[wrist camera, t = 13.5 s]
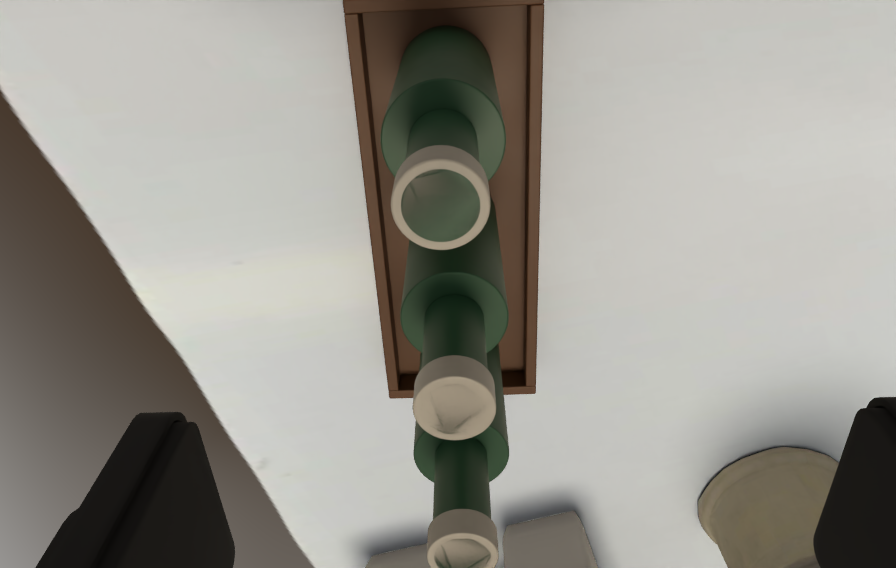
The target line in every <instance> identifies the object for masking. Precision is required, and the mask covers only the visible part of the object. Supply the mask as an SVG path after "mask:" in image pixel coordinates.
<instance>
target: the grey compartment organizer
mask: <svg viewBox="0 0 896 568" xmlns="http://www.w3.org/2000/svg"><path fill="white" fill-rule="evenodd" d="M503 553H504V566H505V568H598V567H597V564H596V561H595V558H594V555H593V553H592V550H591V547H590V544H589V541H588V538H587V536H586V533H585V530H584V527H583V525H582V523H581V521H580V519H579V518H578V516H577V514H576V513H575V511H570V512H565V513H561V514H556V515H552V516H547V517H543V518H538V519H534V520H529V521H525V522H520V523H516V524H511V525H507V528H506V531H505V533H504V536H503ZM365 568H431V566H430V565H429V563H428V560H427V543H426V544H422V545H418V546H413V547H409V548H404V549H400V550H395V551H391V552H386V553H382V554H377V555H373V556H372V557H371V559H370V560H369V562H368V564H367V565H366V567H365Z"/></svg>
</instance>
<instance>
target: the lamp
mask: <svg viewBox="0 0 896 568" xmlns="http://www.w3.org/2000/svg"><path fill="white" fill-rule="evenodd" d="M838 464H839V463H838V462H837V461H835V460H834V459H832V458H831V457H830V456H828V455H824V454H821V453H818V452H814V451H811V450H808V449H800V448H790V447H779V448H773V449H769V450H766V451H763V452H760V453H757V454H754V455H751V456H748V457H746V458H743V459H741V460H739V461H737V462H735V463H733V464H732V465H730V466H728V467H726V468H724V469H723V470H722V471H721V472H720V473H719V474H718V475H717V476H716V477H715V478H714V479H713V480H712V481H711V482H710V484H709V485H708V487H707V488H706V489H705V491H704V492H703V494H702V496H701V498H700V499H699V501H698V510H699V520H700V523H701V526H702V527H703V529H704V530H705V532H706V533H707V534H708V536H709V537H710V538H711V539H712V540H713V541H714V542H715V543H716V544H717V545H718V547H719V549H720V551H721V553H722V556H723V558H724V560H725V562H726V564H727V567H728V568H820V566H819V564H818V561H817V559H816V556H815V552H814V546H813V538H814V533H815V531H816V528H817V525H818V522H819V519H820V516H821V513H822V510H823V508H824V505H825V502H826V499H827V496H828V493H829V490H830V487H831V485H832V482H833V479H834V476H835V473H836V470H837V467H838Z"/></svg>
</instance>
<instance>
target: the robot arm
mask: <svg viewBox="0 0 896 568" xmlns="http://www.w3.org/2000/svg"><path fill="white" fill-rule="evenodd" d="M813 546H814V552H815V556H816V559H817V561H818V564H819V566H820V568H896V397H879V398H874V399H873V400H871V401H870V402H869V404H868V406H867V408H863V409H860V410H859V411H858V412H857V414H856V416H855V418H854V421H853V424H852V427H851V430H850V433H849V436H848V438H847V441H846V444H845V447H844V450H843V453H842V456H841V459H840V461H839V464H838V467H837V470H836V473H835V476H834V479H833V482H832V485H831V487H830V490H829V493H828V496H827V499H826V502H825V505H824V508H823V510H822V513H821V516H820V519H819V522H818V525H817V528H816V531H815V533H814V538H813ZM234 557H235V547H234V541H233V538H232V535H231V532H230V529H229V525H228V522H227V519H226V516H225V512H224V510H223V506H222V503H221V500H220V496H219V493H218V490H217V487H216V483H215V480H214V477H213V474H212V470H211V467H210V464H209V461H208V458H207V454H206V451H205V448H204V445H203V442H202V438H201V435H200V432H199V429H198V426H197V424H195V423H194V422H187V421H186V418H185V416H184V415H183V414H182V413H180V412H164V413H163V412H160V413H140V414H138V415H136V417H135V418H134V419H133V420H132V422H131V423H130V425H129V427H128V428H127V430H126V432H125V433H124V435H123V436H122V438H121V440H120V441H119V443H118V445H117V446H116V448H115V450H114V451H113V453H112V454H111V456H110V458H109V459H108V461H107V463H106V464H105V466H104V468H103V469H102V471H101V473H100V474H99V476H98V478H97V479H96V481H95V482H94V484H93V486H92V487H91V489H90V491H89V492H88V494H87V496H86V497H85V499H84V501H83V502H82V504H81V506H80V507H79V508H78V509H77V510H76V511H74V512H72V513H71V514H70V515H69V516H68V518H67V519H66V520H65V521H64V523H63V524H62V526H61V527H60V529H59V530H58V532H57V534H56V535H55V537H54V538H53V540H52V542H51V543H50V545H49V547H48V548H47V550H46V551H45V553H44V555H43V556H42V558H41V560H40V561H39V563H38V564H37V566H36V568H233V565H234Z"/></svg>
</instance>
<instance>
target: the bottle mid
mask: <svg viewBox="0 0 896 568" xmlns="http://www.w3.org/2000/svg"><path fill="white" fill-rule="evenodd" d="M490 205H491V206H490V213H489V217H488V220H487V222H486V224H485V226H484V228H483V229H482V230H481V232H480V233H479V234H478V235H477V236H476V237H475V238H474V239H472V240H471V241H470V242H468V243H466V244H464V245H462V246H460V247H457V248H453V249H448V250H434V249H429V248H425V247H422V246H420V245H418V244H416V243H414V242H412V241H411V240H410V239H409V247H408V255H407V263H406V271H405V279H404V287H403V295H402V303H401V311H400V321H401V326H402V330H403V332H404V334H405V336H406V338H407V339H408V341H409V342H410V343H411V344H412V345H413V346H414V347H415V348H416V349H417V350H418V351H420V352H421V353H422V367H421V371H420V372H419V373H418V375H417V377H416V380H415V385H414V398H413V413H414V417H415V419H416V421H417V422H418V424H419V425H420V426H421V427H422V428H423V429H424V430H425V431H426V432H428V433H429V434H431V435H433V436H435V437H438V438H441V439H446V440H464V439H468V438H471V437H474V436H476V435H478V434H480V433H482V432H483V431H484V430H486V429H487V428H488V427H489V425H490V424H491V423H492V421H493V419H494V417H495V414H496V397H495V384H494V380H493V377H492V375H491V373H490V372H489V371H488V367H487V353H488V352H489V351H491V350H492V349H493V348H494V347H495V346H496V345H497V344H498V343H499V342H500V340H501V339H502V337H503V336H504V334H505V332H506V329H507V326H508V320H509V312H508V304H507V297H506V289H505V281H504V273H503V265H502V258H501V250H500V242H499V234H498V226H497V219H496V211H495V206H494V203H493V200H492V198H491V197H490Z"/></svg>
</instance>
